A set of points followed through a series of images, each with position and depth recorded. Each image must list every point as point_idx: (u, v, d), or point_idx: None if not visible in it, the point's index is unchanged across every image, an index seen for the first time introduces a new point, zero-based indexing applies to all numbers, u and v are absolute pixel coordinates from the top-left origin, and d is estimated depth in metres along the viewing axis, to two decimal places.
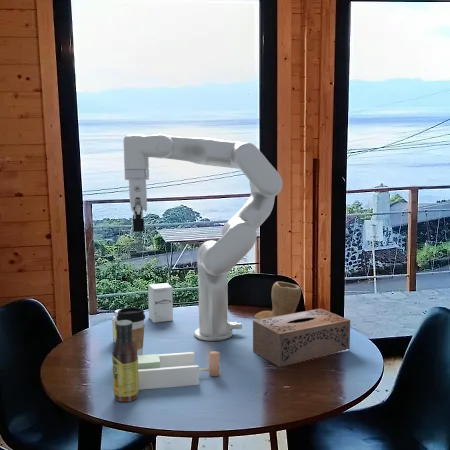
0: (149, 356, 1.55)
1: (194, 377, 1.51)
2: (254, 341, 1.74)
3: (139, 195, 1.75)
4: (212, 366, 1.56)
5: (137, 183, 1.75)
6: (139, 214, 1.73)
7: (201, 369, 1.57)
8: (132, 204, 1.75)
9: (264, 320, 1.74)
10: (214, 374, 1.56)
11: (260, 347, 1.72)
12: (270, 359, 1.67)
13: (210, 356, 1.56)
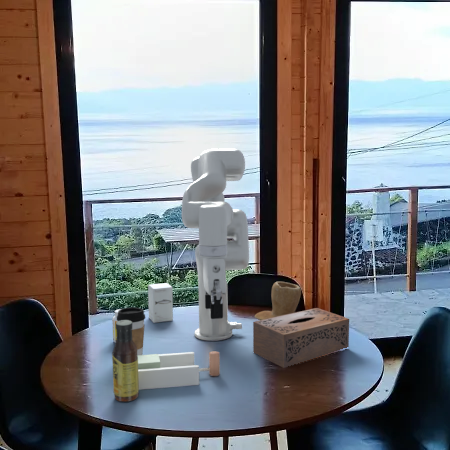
0: (149, 356, 1.55)
1: (194, 377, 1.51)
2: (255, 342, 1.73)
3: (218, 276, 1.49)
4: (212, 366, 1.56)
5: (216, 262, 1.49)
6: (219, 300, 1.47)
7: (201, 369, 1.57)
8: (210, 287, 1.49)
9: (264, 321, 1.73)
10: (214, 374, 1.56)
11: (261, 348, 1.70)
12: (273, 360, 1.66)
13: (210, 356, 1.56)
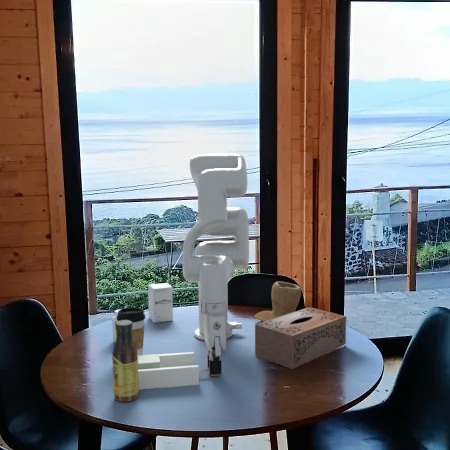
0: (149, 356, 1.55)
1: (194, 377, 1.51)
2: (257, 345, 1.71)
3: (219, 333, 1.51)
4: None
5: (216, 320, 1.51)
6: (218, 357, 1.53)
7: (201, 369, 1.57)
8: (210, 344, 1.51)
9: (266, 323, 1.71)
10: None
11: (265, 351, 1.68)
12: (280, 362, 1.65)
13: None
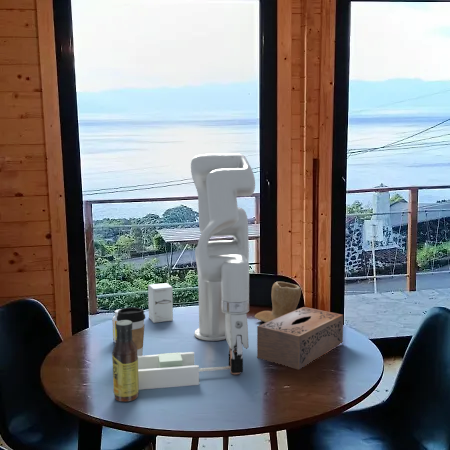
0: (171, 354, 1.56)
1: (194, 377, 1.51)
2: (259, 347, 1.69)
3: (240, 332, 1.52)
4: None
5: (238, 318, 1.52)
6: (239, 356, 1.54)
7: (222, 367, 1.58)
8: (232, 342, 1.52)
9: (268, 324, 1.70)
10: None
11: (269, 352, 1.67)
12: (285, 363, 1.64)
13: (231, 354, 1.57)
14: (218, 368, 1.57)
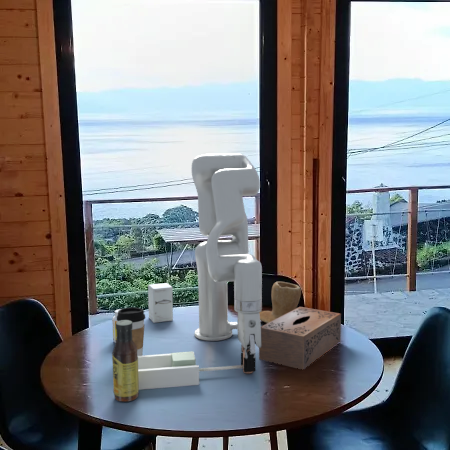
0: (184, 353, 1.57)
1: (194, 377, 1.51)
2: (261, 348, 1.68)
3: (254, 331, 1.53)
4: None
5: (251, 317, 1.52)
6: (252, 355, 1.54)
7: (235, 366, 1.58)
8: (245, 341, 1.53)
9: (269, 325, 1.69)
10: None
11: (271, 353, 1.66)
12: (288, 364, 1.63)
13: (244, 353, 1.58)
14: (231, 367, 1.58)
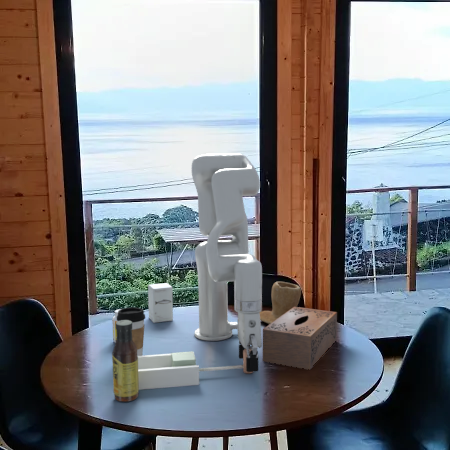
0: (184, 353, 1.57)
1: (194, 377, 1.51)
2: (265, 350, 1.67)
3: (254, 331, 1.53)
4: None
5: (252, 317, 1.52)
6: (255, 354, 1.51)
7: (235, 366, 1.58)
8: (246, 341, 1.53)
9: (272, 326, 1.68)
10: None
11: (276, 355, 1.65)
12: (294, 364, 1.63)
13: (244, 353, 1.58)
14: (231, 367, 1.58)
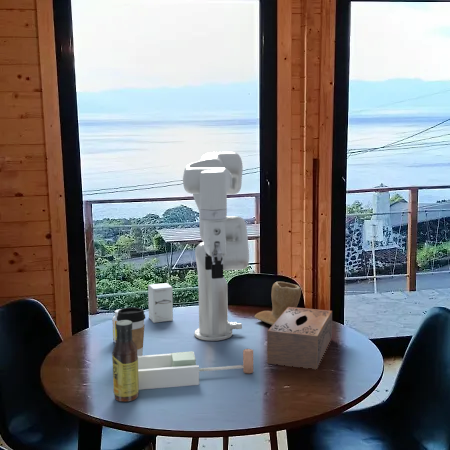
0: (184, 353, 1.57)
1: (194, 377, 1.51)
2: (270, 352, 1.65)
3: (219, 239, 1.57)
4: (246, 363, 1.58)
5: (216, 225, 1.57)
6: (220, 260, 1.56)
7: (235, 366, 1.58)
8: (211, 249, 1.57)
9: (275, 328, 1.67)
10: (248, 371, 1.58)
11: (281, 356, 1.64)
12: (300, 365, 1.63)
13: (244, 353, 1.58)
14: (231, 367, 1.58)
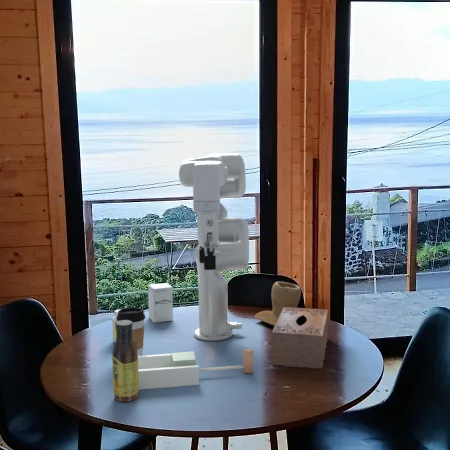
0: (184, 353, 1.57)
1: (194, 377, 1.51)
2: (274, 353, 1.64)
3: (211, 230, 1.58)
4: (246, 363, 1.58)
5: (209, 217, 1.58)
6: (212, 251, 1.57)
7: (235, 366, 1.58)
8: (203, 240, 1.58)
9: (278, 329, 1.66)
10: (248, 371, 1.58)
11: (286, 357, 1.63)
12: (305, 365, 1.62)
13: (244, 353, 1.58)
14: (231, 367, 1.58)
